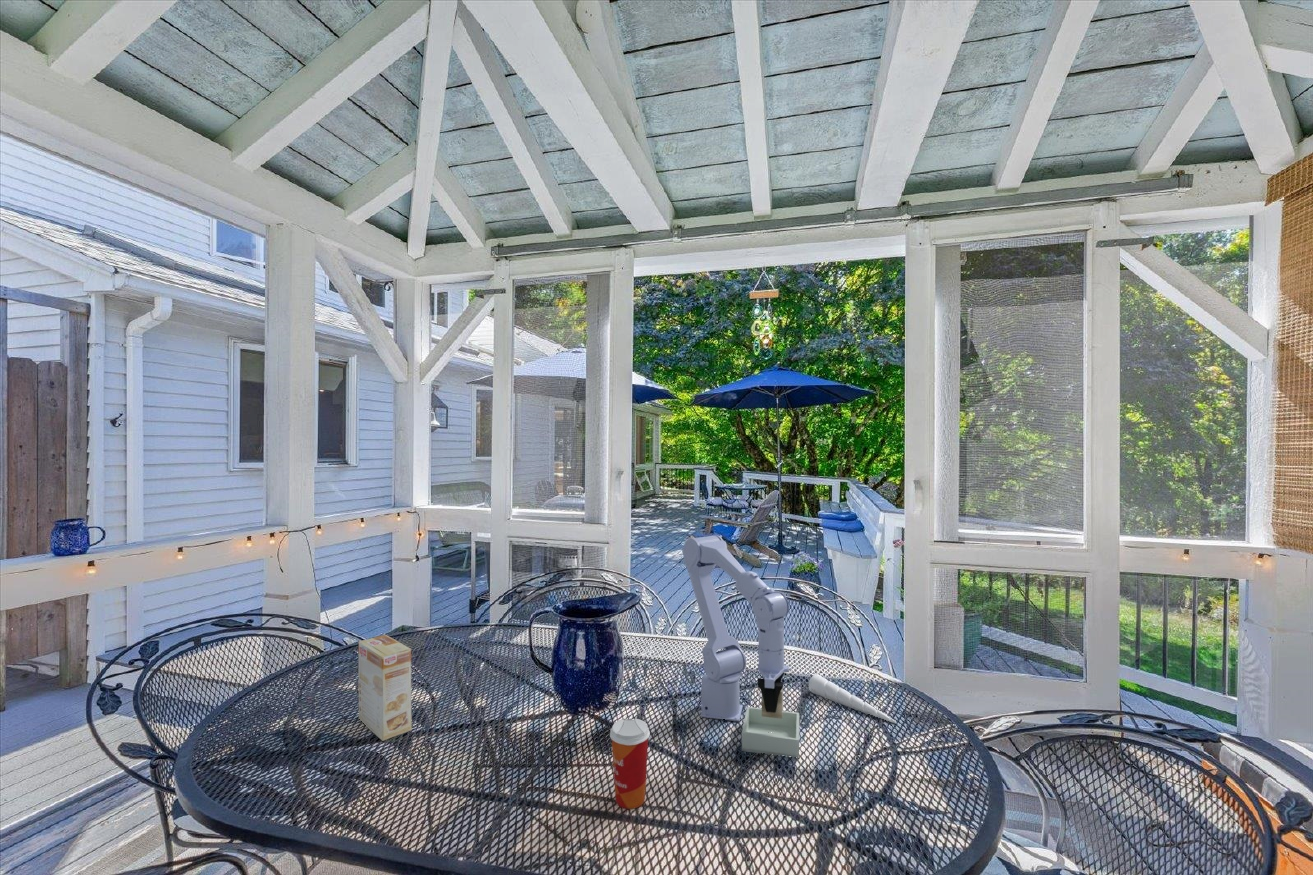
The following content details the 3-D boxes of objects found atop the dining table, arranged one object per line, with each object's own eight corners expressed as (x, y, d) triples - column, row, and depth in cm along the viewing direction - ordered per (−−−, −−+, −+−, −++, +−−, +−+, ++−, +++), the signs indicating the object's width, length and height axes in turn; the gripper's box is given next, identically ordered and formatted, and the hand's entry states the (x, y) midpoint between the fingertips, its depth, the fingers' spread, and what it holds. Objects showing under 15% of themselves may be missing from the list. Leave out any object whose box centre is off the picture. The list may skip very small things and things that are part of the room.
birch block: (761, 716, 127) (761, 689, 127) (763, 706, 131) (763, 681, 131) (782, 718, 126) (782, 692, 126) (782, 709, 130) (782, 683, 130)
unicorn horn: (888, 730, 133) (888, 710, 133) (807, 693, 152) (806, 676, 152) (899, 724, 136) (899, 704, 136) (818, 689, 155) (818, 671, 155)
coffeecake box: (412, 730, 134) (412, 648, 134) (381, 742, 129) (381, 657, 128) (387, 709, 144) (386, 633, 144) (357, 720, 139) (356, 641, 139)
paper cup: (610, 788, 111) (609, 717, 111) (648, 785, 112) (648, 715, 112) (610, 814, 104) (609, 739, 103) (651, 812, 104) (651, 736, 104)
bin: (741, 750, 124) (741, 732, 124) (747, 723, 136) (747, 706, 136) (798, 758, 121) (798, 740, 121) (799, 729, 133) (799, 712, 133)
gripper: (788, 660, 120) (788, 724, 120) (790, 637, 134) (790, 693, 134) (754, 657, 122) (755, 720, 122) (760, 634, 136) (760, 690, 136)
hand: (771, 706), depth 128 cm, fingers closed on birch block, 4 cm apart
